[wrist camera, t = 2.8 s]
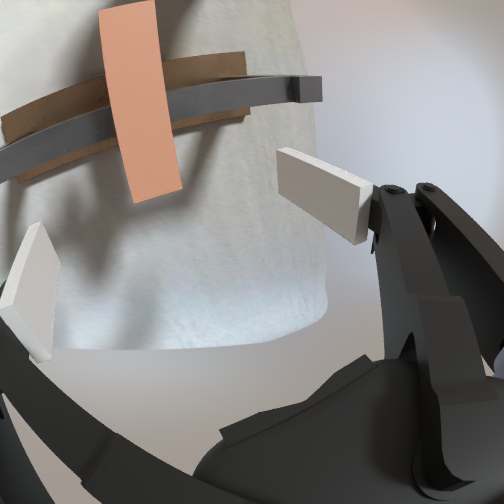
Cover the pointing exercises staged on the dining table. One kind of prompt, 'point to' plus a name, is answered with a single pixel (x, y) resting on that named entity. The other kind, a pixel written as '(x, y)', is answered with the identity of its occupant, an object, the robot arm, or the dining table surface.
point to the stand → (101, 118)
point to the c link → (139, 98)
